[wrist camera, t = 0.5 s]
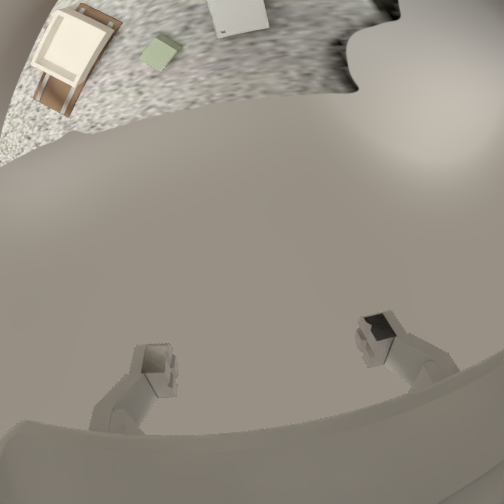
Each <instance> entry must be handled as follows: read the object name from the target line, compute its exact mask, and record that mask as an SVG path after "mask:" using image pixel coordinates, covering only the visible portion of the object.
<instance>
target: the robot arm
mask: <svg viewBox="0 0 504 504" xmlns="http://www.w3.org/2000/svg"><path fill="white" fill-rule="evenodd" d="M358 324H359V326H360V327H359V328H358V329H357V331H356V344H357V347H358V349H359V350H360V351H361V352H363V353H364V354H363V359H364V361H365V364H366V365H367V368H371V367H375V366H379V365H383V364H384V365H385V366H386V367H387V368H389V369H390V370H392V371H393V372H394V373H395V374H397V375H398V376H400V377H401V378H402V379H404V380H405V381H406V382H408V383H409V384H410V385H411V386H412V387H411V388H410V390H409V392H408V393H407V394H404V395H402V396H399V397H396V398H393V399H390V400H387V401H384V402H381V403H377V404H374V405H371V406H367V407H364V408H361V409H357V410H354V411H350V412H346V413H342V414H338V415H334V416H330V417H325V418H321V419H316V420H312V421H307V422H302V423H297V424H291V425H285V426H279V427H273V428H266V429H258V430H250V431H241V432H231V433H219V434H205V435H204V434H202V435H145V434H144V432H143V431H142V430H141V429H140V428H139V426H140V425H141V423H142V422H143V420H144V419H145V418H146V416H147V415H148V413H149V412H150V410H151V409H152V407H153V406H154V404H155V403H156V402H157V400H158V398H169V397H177V386H178V385H177V383H176V380H175V379H176V378H177V377H178V363H177V360H176V357H175V355H173V354H172V350H173V349H172V346H171V344H169V343H165V344H142V345H136V346H135V348H134V352H133V357H132V361H131V366H130V371H129V374H125V375H124V377H122V378H121V379H120V381H119V382H118V383H117V384H116V385H115V386H114V387H113V388H112V389H111V390H110V391H109V392H108V393H107V394H106V395H105V396H104V397H103V398H102V399H101V400H100V401H99V402H98V403H97V404H96V405H95V407H94V408H93V412H92V417H91V421H90V426H89V430H81V429H74V428H68V427H62V426H56V425H51V424H46V423H41V422H37V421H32V420H27V419H26V420H25V419H24V420H21V421H20V422H18V423H17V424H16V425H14V426H13V427H12V428H11V429H9V430H8V431H7V432H6V433H5V434H4V435H3V436H2V437H1V438H0V504H504V349H503V350H501V351H499V352H497V353H495V354H494V355H492V356H490V357H488V358H486V359H484V360H482V361H481V362H479V363H477V364H475V365H473V366H471V367H469V368H466V369H465V370H462V371H460V370H459V368H458V367H457V365H456V364H455V362H454V361H453V359H452V358H451V356H450V355H449V353H447V352H445V351H443V350H441V349H439V348H438V347H435V346H434V345H432V344H430V343H428V342H426V341H424V340H422V339H420V338H418V337H417V336H415V335H413V334H411V333H408V334H407V333H406V331H405V330H404V328H403V327H402V325H401V324H400V322H399V321H398V319H397V318H396V316H395V315H394V313H393V312H392V311H391V310H388V311H384V312H380V313H375V314H371V315H366V316H362V317H360V318H359V322H358Z"/></svg>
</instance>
